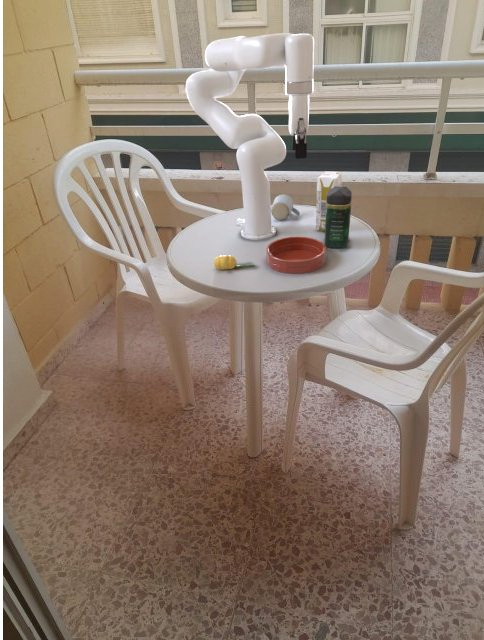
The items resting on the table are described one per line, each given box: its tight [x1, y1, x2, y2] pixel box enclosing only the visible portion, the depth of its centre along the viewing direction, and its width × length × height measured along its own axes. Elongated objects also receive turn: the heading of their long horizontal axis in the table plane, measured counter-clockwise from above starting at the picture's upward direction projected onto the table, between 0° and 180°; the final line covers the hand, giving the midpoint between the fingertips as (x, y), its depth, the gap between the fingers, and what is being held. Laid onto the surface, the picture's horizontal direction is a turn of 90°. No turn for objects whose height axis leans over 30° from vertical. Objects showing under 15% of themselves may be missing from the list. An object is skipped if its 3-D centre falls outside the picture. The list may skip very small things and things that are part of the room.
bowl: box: [265, 235, 327, 275], centre depth 142 cm, size 18×18×4 cm
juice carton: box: [315, 171, 343, 232], centre depth 158 cm, size 8×9×19 cm
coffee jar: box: [323, 186, 353, 250], centre depth 147 cm, size 10×8×19 cm
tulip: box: [213, 254, 256, 271], centre depth 141 cm, size 13×5×4 cm, turn 90°
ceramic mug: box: [271, 193, 301, 221], centre depth 172 cm, size 11×8×8 cm
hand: (299, 153), depth 133 cm, fingers open, 9 cm apart
